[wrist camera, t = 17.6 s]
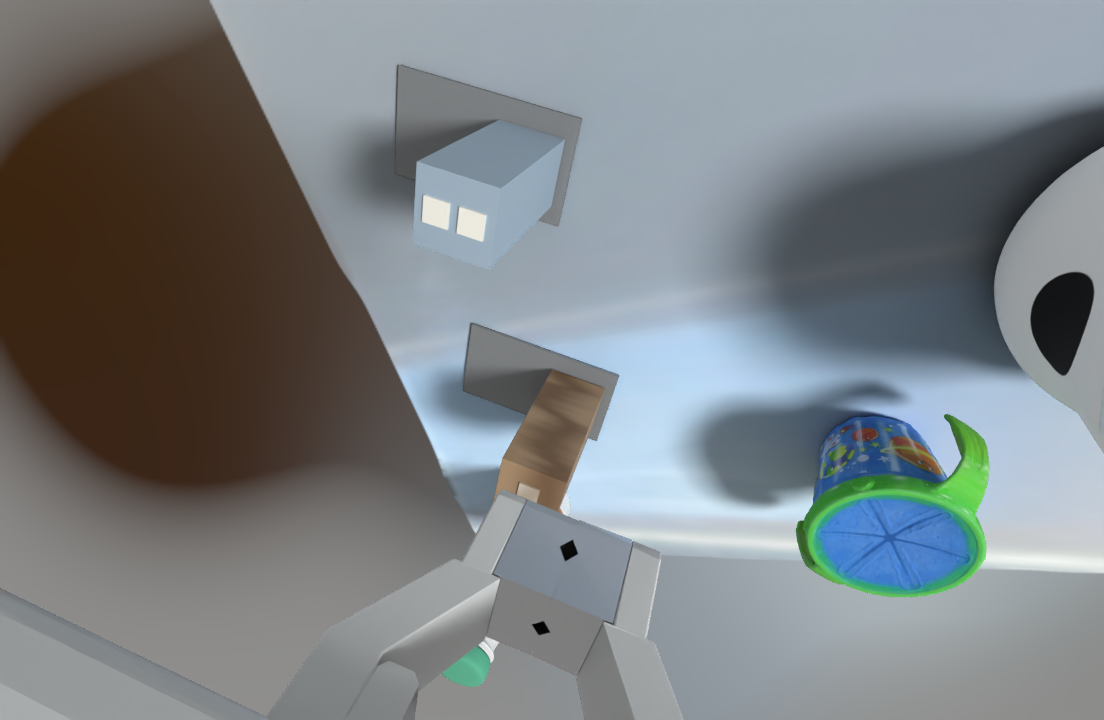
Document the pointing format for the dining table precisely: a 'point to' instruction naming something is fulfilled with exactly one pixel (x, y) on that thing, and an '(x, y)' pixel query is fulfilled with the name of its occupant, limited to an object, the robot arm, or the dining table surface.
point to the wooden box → (550, 441)
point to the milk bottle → (483, 647)
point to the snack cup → (895, 510)
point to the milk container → (1059, 291)
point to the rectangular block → (485, 192)
